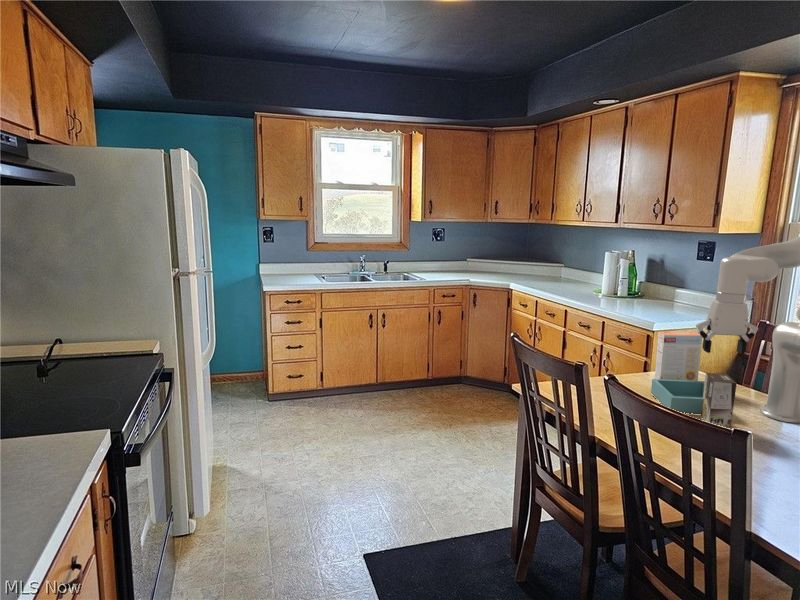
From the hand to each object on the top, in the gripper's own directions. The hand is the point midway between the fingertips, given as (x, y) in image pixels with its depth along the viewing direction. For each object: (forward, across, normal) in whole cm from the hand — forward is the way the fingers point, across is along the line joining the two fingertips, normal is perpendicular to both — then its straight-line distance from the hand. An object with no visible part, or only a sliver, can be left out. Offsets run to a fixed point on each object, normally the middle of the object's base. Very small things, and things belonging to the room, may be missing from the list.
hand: (723, 352), depth 153 cm
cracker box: (+24, -2, -37) cm, 45 cm away
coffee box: (+24, 0, 0) cm, 25 cm away
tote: (+24, +2, -16) cm, 29 cm away
